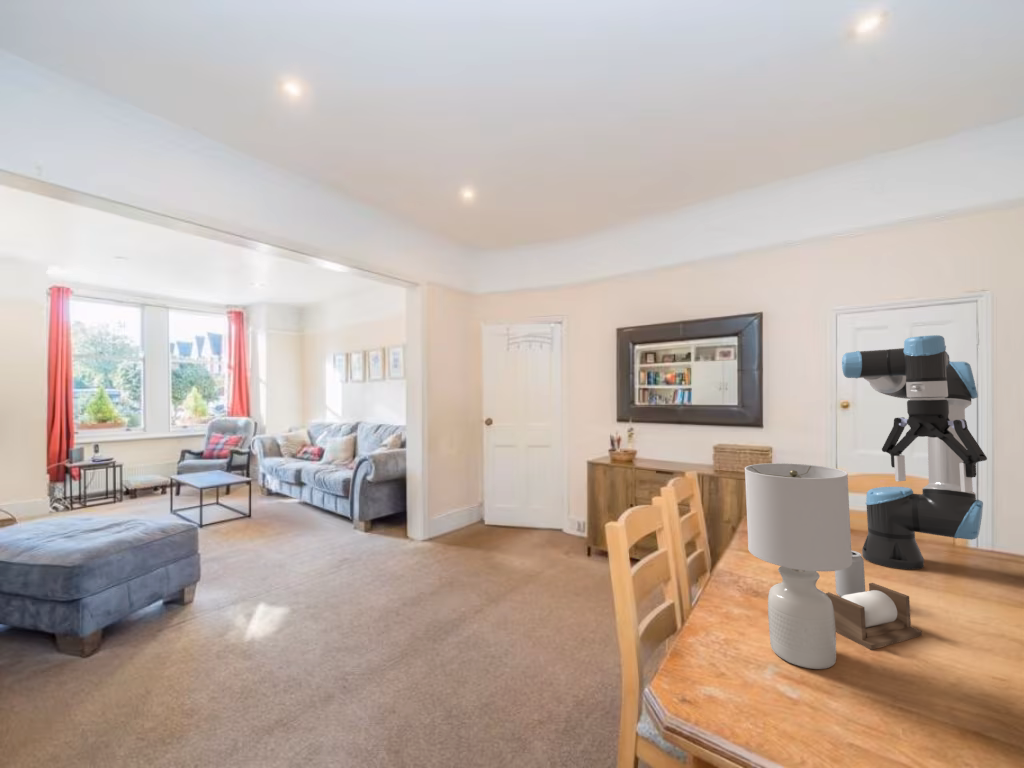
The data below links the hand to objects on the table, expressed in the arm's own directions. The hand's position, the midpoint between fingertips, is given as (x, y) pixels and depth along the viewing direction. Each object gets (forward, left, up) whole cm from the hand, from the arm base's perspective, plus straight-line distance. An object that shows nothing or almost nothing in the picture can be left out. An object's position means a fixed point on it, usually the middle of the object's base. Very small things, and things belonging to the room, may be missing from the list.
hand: (931, 485), depth 110 cm
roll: (+21, -2, -30) cm, 37 cm away
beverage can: (+9, -15, -32) cm, 36 cm away
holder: (+21, -2, -32) cm, 38 cm away
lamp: (+44, 0, -32) cm, 54 cm away
